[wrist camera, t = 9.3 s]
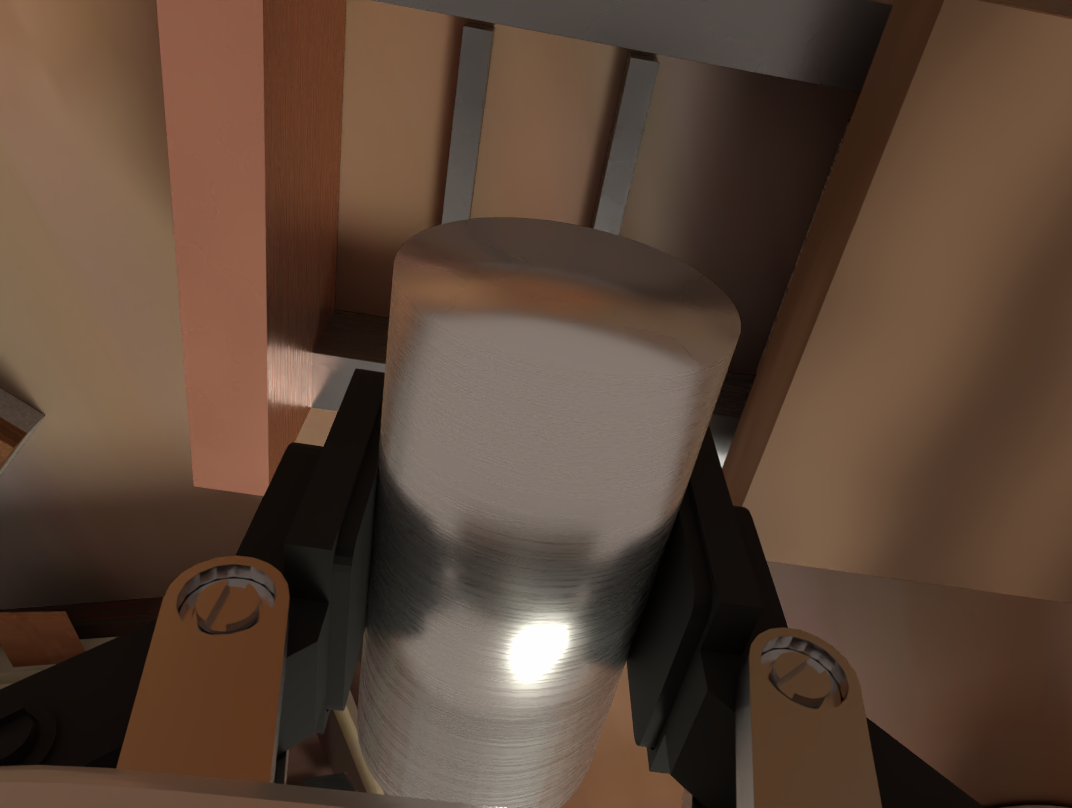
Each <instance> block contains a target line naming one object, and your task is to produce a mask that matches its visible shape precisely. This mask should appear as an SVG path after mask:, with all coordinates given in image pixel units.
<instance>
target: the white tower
mask: <svg viewBox="0 0 1072 808" xmlns="http://www.w3.org/2000/svg"><path fill="white" fill-rule="evenodd" d="M44 416H45V415H43V414H42V413H40V412H39V411H37V410H35V409H34V408H32V407H30V406H29V405H27V404H26V403H24V402H22V401H21V400H19V399H17V398H16V397H14V396H13V395H11V394H9V393H8V392H6V391H4V390H3V389H1V388H0V476H1V474H2V473H3V472H4V470H5V469H6V468H7V466H8V465H9V464H10V462H11V461H12V460H13V458H14V457H15V456H16V454H17V453H18V451H19V450H20V449H21V447H22V446H23V445H24V443H25V442H26V441H27V439H28V438H29V437H30V435H31V434H32V433H33V431H34V430H35V428H36V427H37V426H38V424H39V423H40V422H41V420H42V419H43V418H44Z"/></svg>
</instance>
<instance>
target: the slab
mask: <svg viewBox="0 0 1072 808" xmlns="http://www.w3.org/2000/svg"><path fill="white" fill-rule="evenodd" d="M722 470H723V473H724V477H725V480H726V484H727V487H728V490H729V494H730V497H731V500H732V504H733V506H740V507H745V508H747V509H748V510H749V511H750V514H751V516H752V518H753V521H754V524H755V527H756V530H757V533H758V537H759V540H760V543H761V546H762V549H763V552H764V555H765V558H766V561H771V562H778V563H785V564H793V565H800V566H807V567H814V568H821V569H828V570H835V571H843V572H850V573H857V574H864V575H871V576H878V577H885V578H893V579H900V580H907V581H914V582H921V583H928V584H936V585H943V586H950V587H957V588H964V589H971V590H978V591H986V592H993V593H1000V594H1007V595H1014V596H1021V597H1028V598H1036V599H1043V600H1050V601H1057V602H1064V603H1071V604H1072V17H1069V16H1064V15H1059V14H1054V13H1049V12H1044V11H1039V10H1034V9H1029V8H1024V7H1019V6H1014V5H1009V4H1004V3H999V2H994V1H989V0H895V1H894V4H893V7H892V9H891V12H890V15H889V18H888V20H887V23H886V26H885V28H884V31H883V34H882V37H881V39H880V42H879V45H878V47H877V50H876V53H875V55H874V58H873V61H872V64H871V66H870V69H869V72H868V74H867V77H866V80H865V83H864V85H863V88H862V91H861V93H860V96H859V99H858V101H857V104H856V107H855V110H854V112H853V115H852V118H851V120H850V123H849V126H848V129H847V131H846V134H845V137H844V139H843V142H842V145H841V147H840V150H839V153H838V156H837V158H836V161H835V164H834V166H833V169H832V172H831V175H830V177H829V180H828V183H827V185H826V188H825V191H824V193H823V196H822V199H821V202H820V204H819V207H818V210H817V212H816V215H815V218H814V221H813V223H812V226H811V229H810V231H809V234H808V237H807V239H806V242H805V245H804V248H803V250H802V253H801V256H800V258H799V261H798V264H797V267H796V269H795V272H794V275H793V277H792V280H791V283H790V285H789V288H788V291H787V294H786V296H785V299H784V302H783V304H782V307H781V310H780V312H779V315H778V318H777V321H776V323H775V326H774V329H773V331H772V334H771V337H770V340H769V342H768V345H767V348H766V350H765V353H764V356H763V358H762V361H761V364H760V367H759V369H758V372H757V375H756V377H755V380H754V383H753V386H752V388H751V391H750V394H749V396H748V399H747V402H746V404H745V407H744V410H743V413H742V415H741V418H740V421H739V423H738V426H737V429H736V432H735V434H734V437H733V440H732V442H731V445H730V448H729V450H728V453H727V456H726V459H725V461H724V464H723V467H722Z"/></svg>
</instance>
